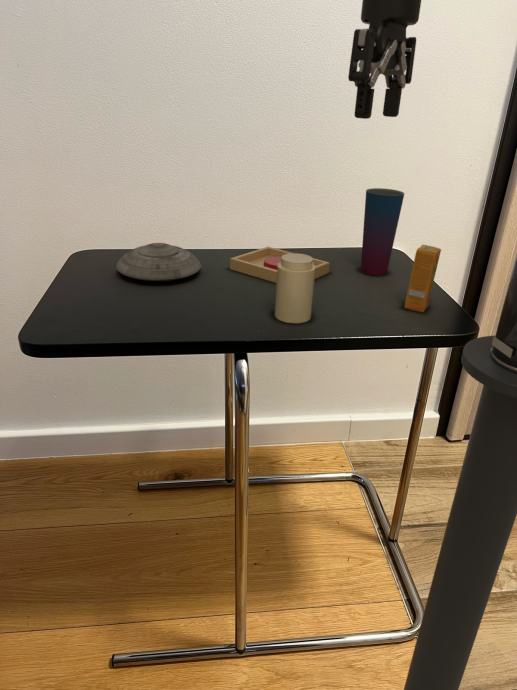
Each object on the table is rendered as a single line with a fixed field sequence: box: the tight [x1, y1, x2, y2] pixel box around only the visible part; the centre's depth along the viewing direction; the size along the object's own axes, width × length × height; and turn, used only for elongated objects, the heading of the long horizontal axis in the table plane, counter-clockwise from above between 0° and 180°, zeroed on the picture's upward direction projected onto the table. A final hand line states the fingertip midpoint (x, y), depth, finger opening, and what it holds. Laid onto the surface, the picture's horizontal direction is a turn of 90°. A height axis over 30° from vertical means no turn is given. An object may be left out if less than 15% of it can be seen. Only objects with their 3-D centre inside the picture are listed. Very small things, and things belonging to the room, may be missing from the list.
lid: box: [264, 256, 281, 270], centre depth 101 cm, size 6×6×1 cm
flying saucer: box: [115, 242, 202, 282], centre depth 97 cm, size 15×15×6 cm
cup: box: [360, 187, 405, 276], centre depth 101 cm, size 7×7×15 cm
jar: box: [274, 252, 316, 324], centre depth 81 cm, size 6×6×9 cm
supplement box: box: [404, 244, 442, 313], centre depth 86 cm, size 3×3×10 cm
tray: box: [229, 246, 331, 284], centre depth 101 cm, size 15×12×2 cm
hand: (376, 117), depth 77 cm, fingers open, 8 cm apart
